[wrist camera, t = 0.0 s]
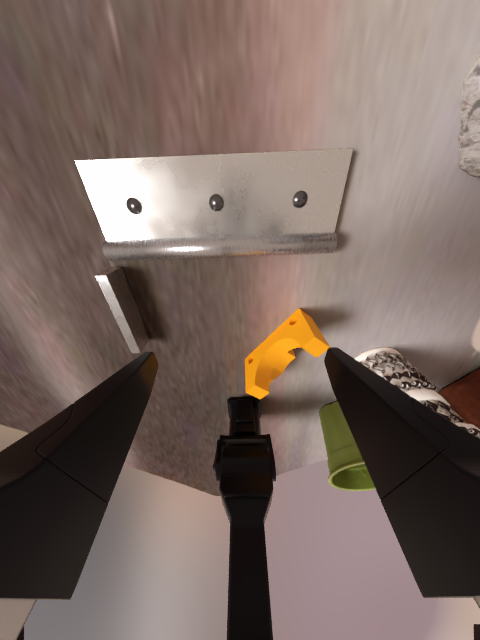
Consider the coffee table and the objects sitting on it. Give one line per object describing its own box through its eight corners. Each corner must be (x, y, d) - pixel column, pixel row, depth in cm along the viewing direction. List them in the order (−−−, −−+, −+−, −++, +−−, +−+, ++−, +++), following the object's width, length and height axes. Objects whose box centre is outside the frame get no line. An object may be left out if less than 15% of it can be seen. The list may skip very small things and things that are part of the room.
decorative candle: (391, 335, 28) (874, 764, 7) (411, 366, 31) (764, 706, 10) (335, 365, 31) (535, 709, 10) (359, 390, 35) (543, 680, 14)
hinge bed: (309, 334, 27) (316, 348, 25) (141, 339, 28) (131, 353, 25) (348, 150, 16) (368, 141, 14) (68, 162, 17) (38, 156, 14)
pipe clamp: (264, 369, 32) (269, 404, 26) (244, 358, 30) (245, 392, 25) (319, 323, 27) (339, 354, 21) (298, 307, 25) (314, 336, 20)
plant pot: (369, 387, 34) (418, 458, 25) (363, 420, 40) (401, 487, 31) (304, 397, 36) (328, 468, 27) (309, 428, 42) (329, 494, 33)
